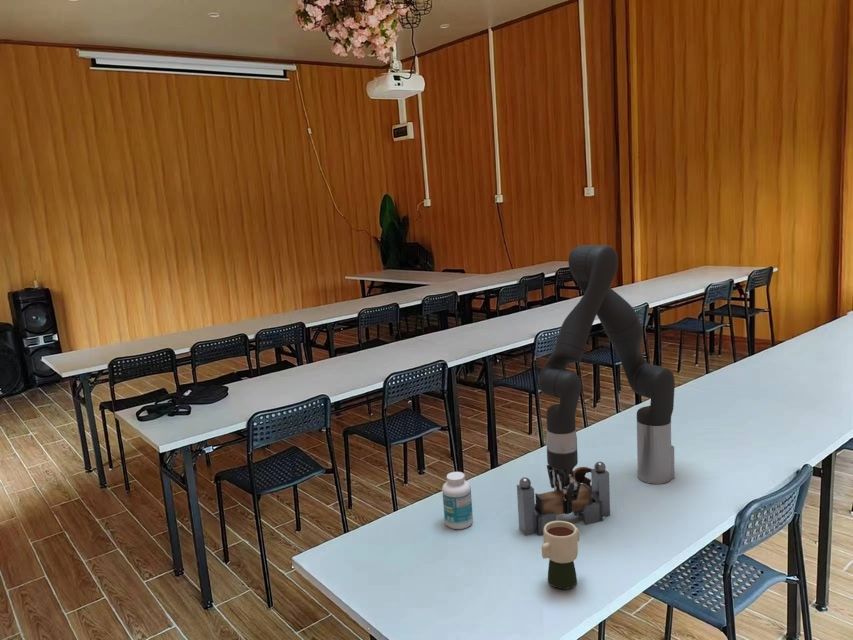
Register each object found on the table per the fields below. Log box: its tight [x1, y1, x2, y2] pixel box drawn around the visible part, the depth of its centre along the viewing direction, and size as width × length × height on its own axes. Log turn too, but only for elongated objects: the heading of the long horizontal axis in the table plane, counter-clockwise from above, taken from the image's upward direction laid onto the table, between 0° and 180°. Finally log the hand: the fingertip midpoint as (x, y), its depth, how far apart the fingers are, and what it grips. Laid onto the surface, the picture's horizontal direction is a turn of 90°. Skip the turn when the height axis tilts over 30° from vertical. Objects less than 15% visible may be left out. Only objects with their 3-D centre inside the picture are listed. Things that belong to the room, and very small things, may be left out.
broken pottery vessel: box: [566, 466, 592, 491], centre depth 184 cm, size 12×10×8 cm
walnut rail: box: [534, 483, 592, 516], centre depth 168 cm, size 14×3×5 cm, turn 106°
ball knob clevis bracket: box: [516, 461, 611, 537], centre depth 167 cm, size 24×7×14 cm, turn 106°
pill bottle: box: [441, 471, 474, 530], centre depth 171 cm, size 8×7×14 cm
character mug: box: [541, 520, 580, 589], centre depth 142 cm, size 11×7×13 cm, turn 125°
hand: (564, 509), depth 168 cm, fingers closed on walnut rail, 3 cm apart
